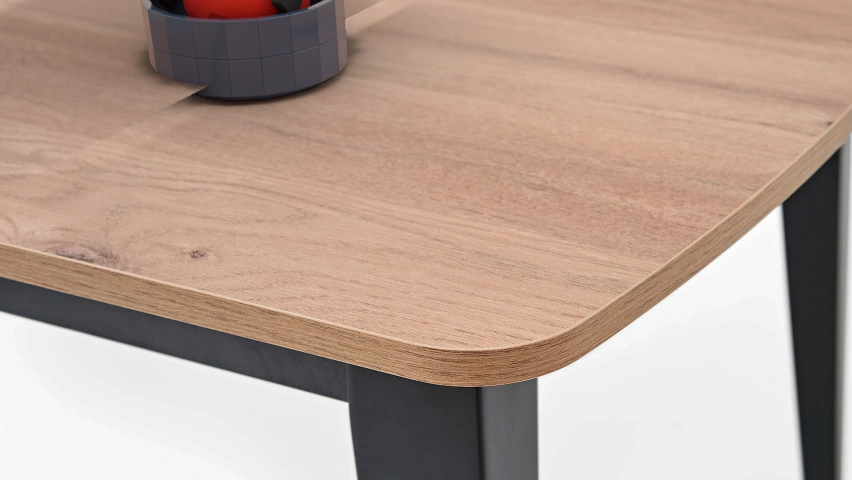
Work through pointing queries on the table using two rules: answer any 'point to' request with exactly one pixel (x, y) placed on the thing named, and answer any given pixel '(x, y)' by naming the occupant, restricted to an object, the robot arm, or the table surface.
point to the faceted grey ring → (247, 49)
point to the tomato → (232, 8)
